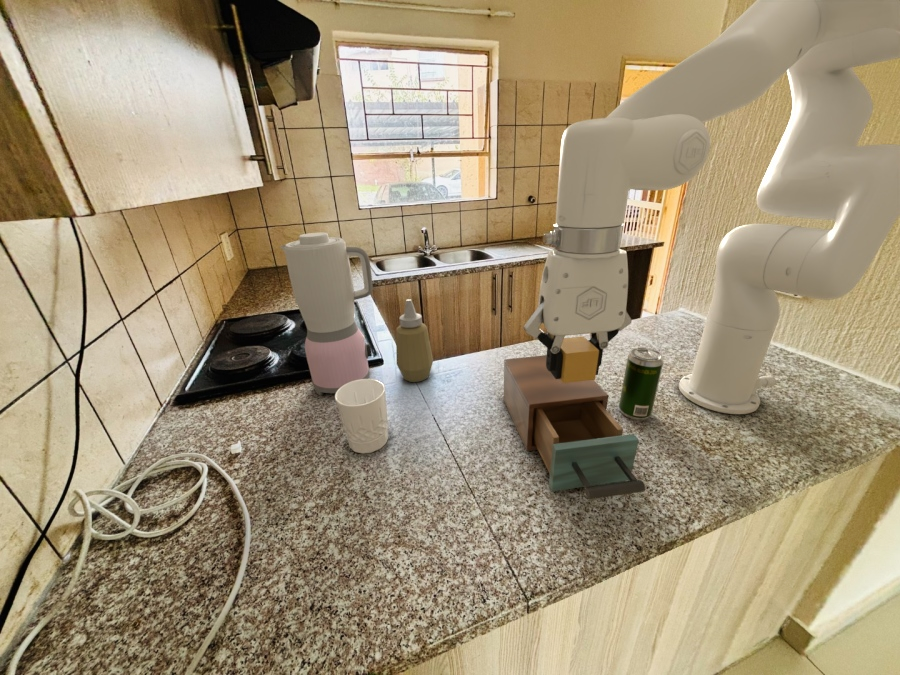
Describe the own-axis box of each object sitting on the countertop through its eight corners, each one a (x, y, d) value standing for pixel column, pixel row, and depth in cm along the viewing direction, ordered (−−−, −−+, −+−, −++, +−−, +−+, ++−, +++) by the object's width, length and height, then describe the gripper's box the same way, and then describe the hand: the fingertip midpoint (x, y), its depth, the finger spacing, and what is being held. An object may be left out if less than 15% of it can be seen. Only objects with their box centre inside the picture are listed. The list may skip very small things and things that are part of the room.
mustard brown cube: (580, 364, 53) (583, 336, 51) (595, 379, 49) (599, 350, 47) (550, 367, 52) (553, 339, 51) (563, 383, 48) (566, 353, 47)
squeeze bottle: (429, 386, 77) (422, 307, 69) (393, 384, 78) (382, 306, 71) (437, 368, 84) (432, 294, 76) (404, 365, 85) (396, 293, 78)
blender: (310, 402, 73) (270, 243, 60) (315, 373, 84) (282, 232, 71) (388, 389, 76) (366, 235, 63) (383, 363, 87) (364, 226, 74)
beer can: (657, 420, 63) (671, 360, 58) (626, 422, 63) (638, 362, 58) (641, 402, 68) (653, 345, 63) (613, 404, 68) (623, 347, 63)
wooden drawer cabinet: (601, 441, 59) (608, 395, 55) (526, 451, 58) (529, 404, 54) (564, 392, 72) (568, 352, 68) (503, 399, 71) (504, 359, 67)
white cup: (399, 429, 64) (393, 382, 60) (377, 460, 57) (368, 409, 53) (361, 422, 67) (352, 375, 62) (336, 451, 60) (324, 401, 56)
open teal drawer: (655, 513, 46) (667, 470, 42) (568, 526, 44) (574, 483, 41) (585, 420, 63) (590, 385, 60) (522, 428, 62) (523, 392, 59)
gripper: (527, 251, 39) (521, 393, 47) (674, 240, 40) (645, 380, 48) (509, 239, 46) (506, 365, 53) (635, 230, 47) (615, 354, 55)
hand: (572, 371), depth 50 cm, fingers closed on mustard brown cube, 4 cm apart
